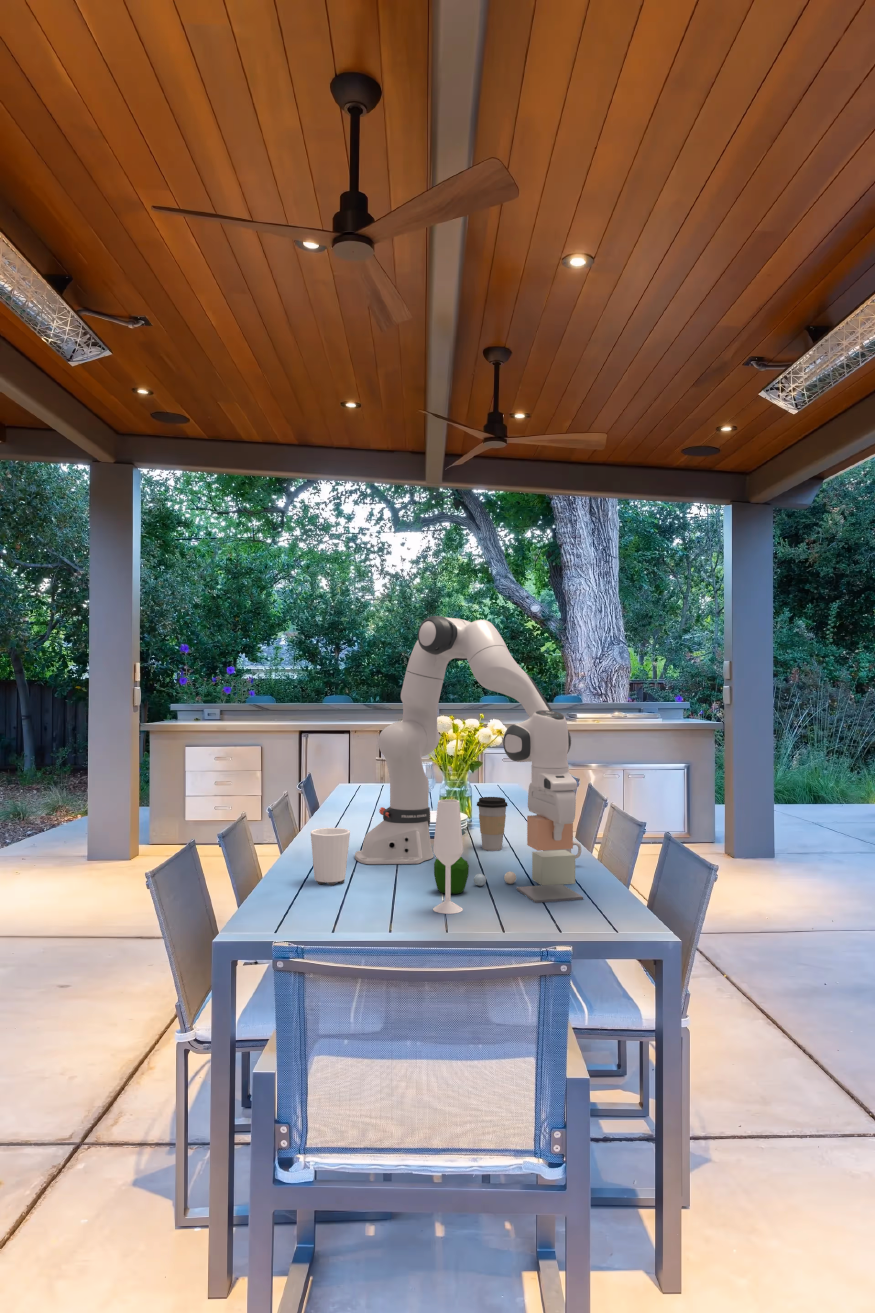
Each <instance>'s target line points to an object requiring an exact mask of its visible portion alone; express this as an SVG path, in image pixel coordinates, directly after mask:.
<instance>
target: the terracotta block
mask: <svg viewBox="0 0 875 1313" xmlns="http://www.w3.org/2000/svg"><path fill="white" fill-rule="evenodd" d="M526 818H527V822H526V823H527V824H526V827H527V829H526V831H527V833H526V834H527V835H526V836H527V838H526V842H527V843H526V845H527V847H530V848H532V849H534V850H536V851H543V850H557V849H571V850H572V849H574V845H573V841H574V822H573V823H572V824H564V828H563V831H562V839H561V840H557V841H556V840H554V839H552V832H554V825H553V821H552V820H549V819H547V818H545V817H542V816H540V815H537V814H535V815H527V816H526Z"/></svg>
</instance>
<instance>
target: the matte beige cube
mask: <svg viewBox="0 0 875 1313" xmlns="http://www.w3.org/2000/svg"><path fill="white" fill-rule="evenodd" d="M531 852H532V853H531V855H532V858H531V859H532V860H531V862H532V863H531V864H532V865H531V867H532V868H531V869H532V870H531V874H532V875H531V880H532V879H533V881H534V882H535V883H537V884H538V885H539V886H540V885H555V884H563V885H575V884H576V859H575V855H576V854H574V853H572V852H571V853H570V852H568V851H566V850H554V851H543V850H541V851H537V850H536V851H531Z"/></svg>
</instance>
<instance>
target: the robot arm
mask: <svg viewBox="0 0 875 1313" xmlns="http://www.w3.org/2000/svg"><path fill="white" fill-rule="evenodd" d="M453 659H456V660H457V661H459V662H462V661H467V663H468V665H469V667H470V670H471V672H472V674H473V677H474V678H475V680H476V681H477V682H478V684H479V685H481V686H482V688H485V689H486V690H489V691H492V692H495V693H500V694H502V695H505V696H508V697H510V698H512V699H514V700H516V702H519V704H520V705H521V706H522V707H523V709H524V711H525V712H526V714H527V716H529V717H528V718H527V719H526V720H524V721H522V722H519V723H515V724H511V725H509V727H508V728H506V730H505V732H504V733H503V734H504V735H503V740H502V743H503V750H504V753H505V755H506V757H508V759H510V760H511V761H512V762H517V763H525V762H527V763H528V762H530V763H531V782H530V783H529V785H528V793H527V794H528V795H527V810H528V811H529V812H530V813H532V814H535V815H540V816H542V817H545V818H547V819H549V820H552V821H553V825H554V832H552V839H554V840H556V841H557V840H561V839H562V831H563V828H564V824H572V823H573V824H574V822H575V819H576V804H577V803H576V802H577V799H576V793H575V791H577V789H578V783H577V780H576V779H575V777H573V776H572V774H571V773H570V772H569V770H570V769H569V761H568V757H567V756H568V753H569V752H570V749H571V745H572V737H571V733H570V731H569V729H568V728H569V727H568V723H567V719H566V717H565V715H563V714H562V713H561V712H558V711H554V710H553V709H552V708H551V706H550V704H549V703H548V701H547V700H546V698H545V697H544V695H543V693H542V692H541V690H540V689H539V687H538V685H537V684H536V682H535V680H534V679H533V678H532V677H531V676H530V675H529V674H528V673H527V672H526V671H524V670H523V668H521V666H520V665H519V663H517V661H516V660H515V659H514V658H513V656H512V654H511V653H510V651H509V649H508V647H507V644H506V642H505V641H504V639H503V637H502V635H501V633H500V632H499V631H498V630H497V628H496V627H495V626H494V624H493V623H492V622H491V621H488V620H487V619H476V620H474V621H472V622H471V621H469V620H465V619H461V618H458V617H456V618H454V617H446V616H441V615H432V616H429V617H426V618H425V619H424V620H423V621H421V623H420V625H419V628H418V630H417V640H416V641H415V644H414V646H413V648H412V652H411V654H410V657H409V658H408V662H407V666H406V669H405V670H406V671H405V674H404V679H403V683H402V688H401V691H400V700H401V702H402V713H403V714H402V720H401V721H396V722H393V723H391V724H388V726H386V727H384V728H383V729H382V730H381V731H380V733H379V735H378V738H377V739H378V740H377V745H378V748H379V751H380V753H381V754H382V755H383V757H384V760H385V763H386V767H387V771H388V776H389V778H388V779H389V801H390V802H389V806H388V807H387V808H385V807H384V806H383V807H380V808H379V810H378V811H379V812H378V813H379V814H380V815H382V821H381V822H380V823H378V824H377V825H376V826H375V827H373V828H372V829H371V830H369V831H368V832H367V833H366V834H365V836H364V839H363V844H362V848H361V850H357V851H356V852H355V853H354V859H355V860H356V861H357V862H359V863H361V864H365V865H400V864H401V865H405V864H406V865H409V864H411V865H414V864H415V865H416V864H421V863H423V862H425V861H429V860H431V859H433V858H434V856H435V854H434V851H433V848H432V842H431V836H430V826H431V810H430V809H431V807H430V806H429V795H430V794H429V789H430V788H429V784H430V783H429V778H428V777H427V775H426V773H425V770H424V766H423V761H422V758H423V757H426V756H428V755H429V754H431V753H432V752H433V751H434V750H435V749H436V748H437V747H438V746H439V743H440V732H439V730H438V710H439V702H440V696H441V692H442V688H443V684H444V679H445V675H446V670H447V667H448V664H449V662H450V661H452V660H453Z"/></svg>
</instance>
